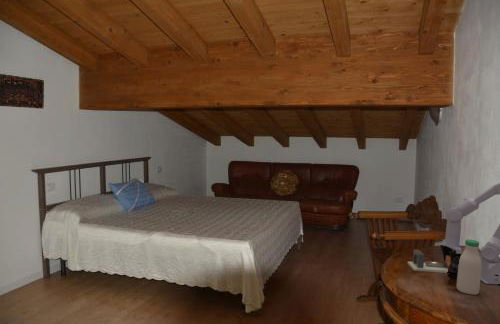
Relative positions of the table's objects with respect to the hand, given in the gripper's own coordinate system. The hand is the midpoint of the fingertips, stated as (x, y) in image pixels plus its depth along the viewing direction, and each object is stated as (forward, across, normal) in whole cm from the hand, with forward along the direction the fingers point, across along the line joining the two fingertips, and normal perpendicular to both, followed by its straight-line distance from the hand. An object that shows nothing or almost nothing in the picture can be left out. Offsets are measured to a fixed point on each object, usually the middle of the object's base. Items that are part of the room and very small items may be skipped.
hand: (450, 264), depth 171 cm
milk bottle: (+3, +23, -3) cm, 23 cm away
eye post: (+2, 0, -14) cm, 14 cm away
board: (+2, 0, -8) cm, 8 cm away
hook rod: (+1, 0, -4) cm, 5 cm away
